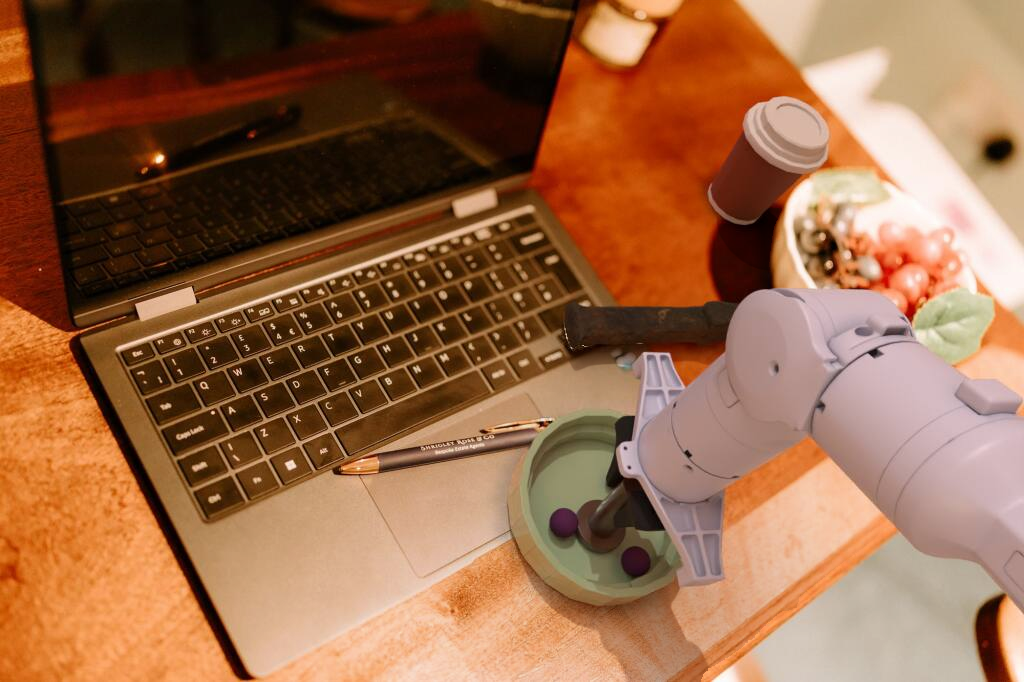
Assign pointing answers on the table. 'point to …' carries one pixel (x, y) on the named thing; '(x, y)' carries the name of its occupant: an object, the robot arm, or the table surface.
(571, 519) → the berry
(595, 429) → the bowl
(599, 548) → the masher
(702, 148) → the table surface
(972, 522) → the robot arm
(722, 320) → the hand tool
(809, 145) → the coffee cup
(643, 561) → the berry
